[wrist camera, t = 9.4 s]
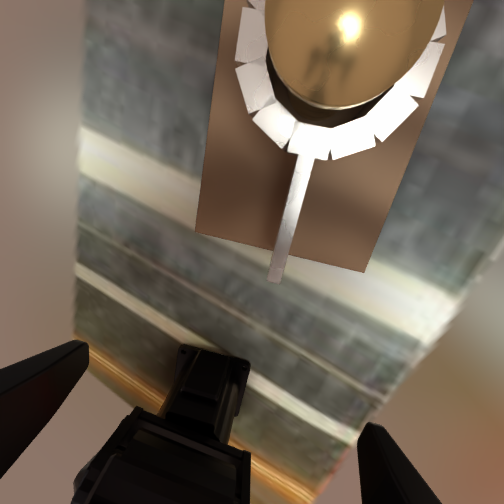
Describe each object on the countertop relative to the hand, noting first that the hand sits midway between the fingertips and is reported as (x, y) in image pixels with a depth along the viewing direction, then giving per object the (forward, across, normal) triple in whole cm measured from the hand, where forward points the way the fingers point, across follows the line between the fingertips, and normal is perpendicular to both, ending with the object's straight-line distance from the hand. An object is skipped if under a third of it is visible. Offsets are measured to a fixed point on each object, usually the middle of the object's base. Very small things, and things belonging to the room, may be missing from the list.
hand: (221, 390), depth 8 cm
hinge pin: (+11, -1, -11) cm, 16 cm away
